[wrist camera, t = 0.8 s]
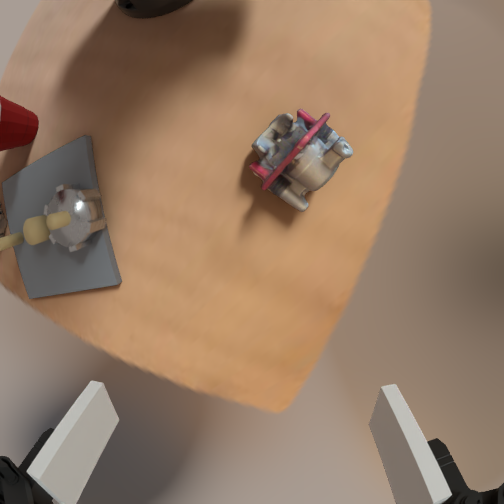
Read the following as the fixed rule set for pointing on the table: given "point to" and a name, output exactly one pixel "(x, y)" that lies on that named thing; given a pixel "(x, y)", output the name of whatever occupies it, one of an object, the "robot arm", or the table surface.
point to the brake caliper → (298, 156)
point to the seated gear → (76, 215)
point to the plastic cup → (16, 125)
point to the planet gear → (2, 223)
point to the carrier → (55, 225)
